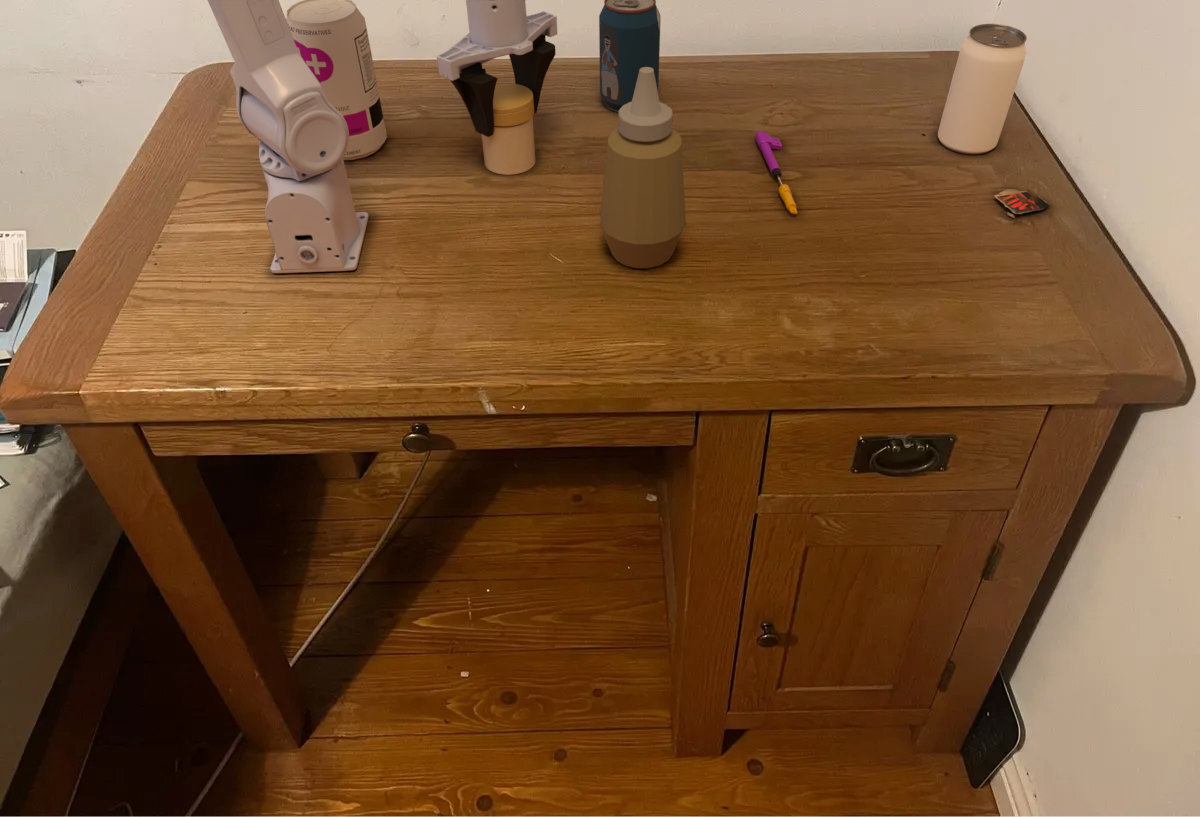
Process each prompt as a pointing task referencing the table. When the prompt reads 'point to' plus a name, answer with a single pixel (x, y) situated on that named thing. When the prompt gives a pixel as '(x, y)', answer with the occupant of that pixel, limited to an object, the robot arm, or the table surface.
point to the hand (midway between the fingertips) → (506, 121)
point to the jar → (510, 149)
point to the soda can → (627, 47)
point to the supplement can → (341, 67)
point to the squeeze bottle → (643, 181)
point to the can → (982, 88)
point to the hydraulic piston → (775, 166)
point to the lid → (512, 104)
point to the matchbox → (1021, 201)
